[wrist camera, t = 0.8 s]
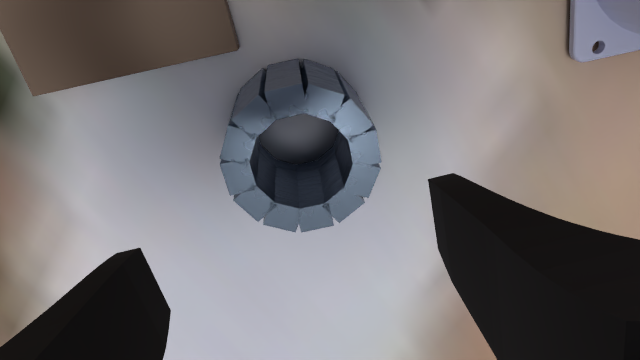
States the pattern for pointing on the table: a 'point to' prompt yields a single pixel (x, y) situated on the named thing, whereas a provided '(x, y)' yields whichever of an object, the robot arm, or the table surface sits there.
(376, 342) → the table surface
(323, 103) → the collar
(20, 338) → the robot arm
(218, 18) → the shaft base
